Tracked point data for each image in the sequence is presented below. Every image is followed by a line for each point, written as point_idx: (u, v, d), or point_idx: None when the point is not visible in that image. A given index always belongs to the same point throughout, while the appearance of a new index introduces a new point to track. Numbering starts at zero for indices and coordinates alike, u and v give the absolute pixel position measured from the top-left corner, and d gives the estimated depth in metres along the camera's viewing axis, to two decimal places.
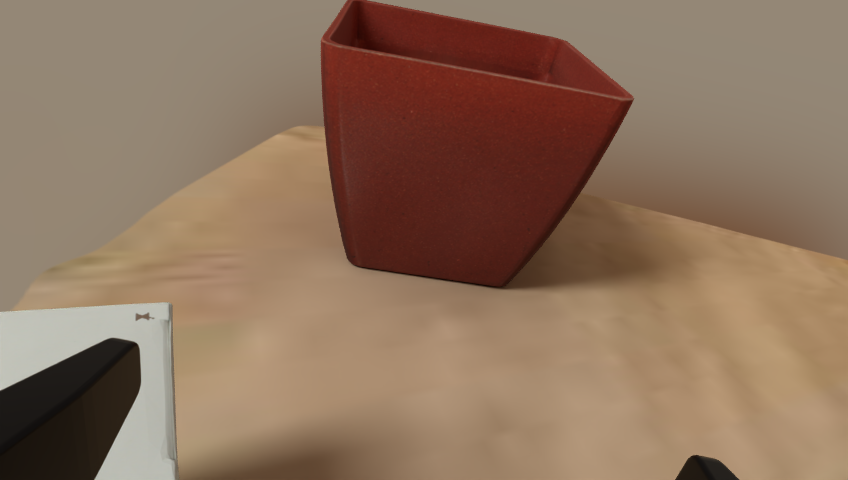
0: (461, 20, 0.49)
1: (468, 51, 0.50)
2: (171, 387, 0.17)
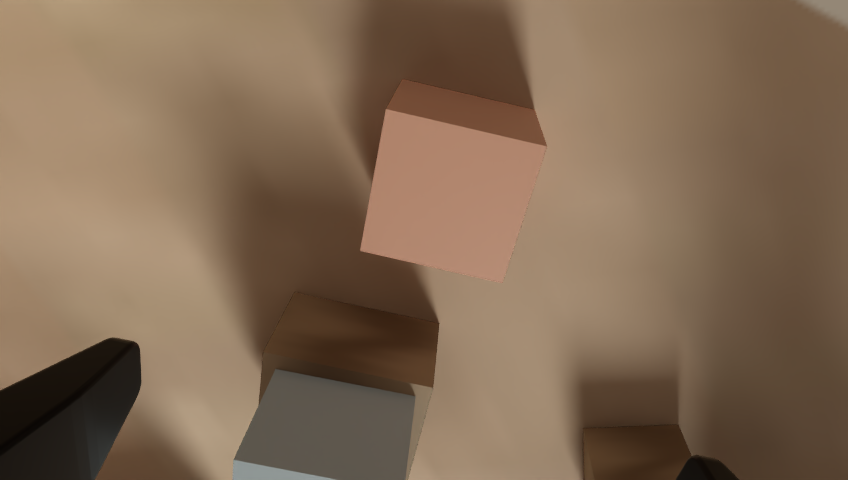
0: None
1: None
2: None
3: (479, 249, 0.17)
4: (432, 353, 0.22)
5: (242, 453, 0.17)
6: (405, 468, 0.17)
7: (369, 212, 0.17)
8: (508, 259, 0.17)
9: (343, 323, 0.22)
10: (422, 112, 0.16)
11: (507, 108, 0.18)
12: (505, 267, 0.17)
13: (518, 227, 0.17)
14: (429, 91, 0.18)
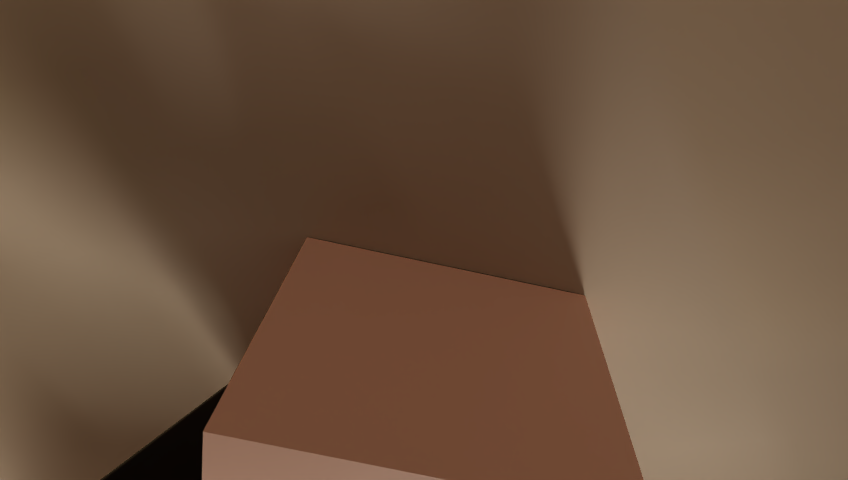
0: None
1: None
2: None
3: None
4: None
5: None
6: None
7: None
8: None
9: None
10: (315, 417, 0.06)
11: (531, 311, 0.08)
12: None
13: None
14: (358, 282, 0.08)
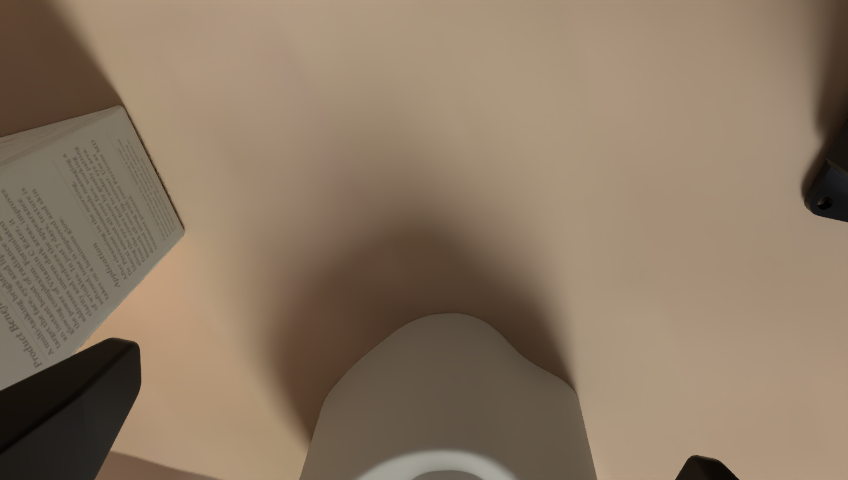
0: None
1: None
2: None
3: None
4: None
5: None
6: None
7: None
8: None
9: None
10: None
11: None
12: None
13: None
14: None
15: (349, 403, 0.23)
